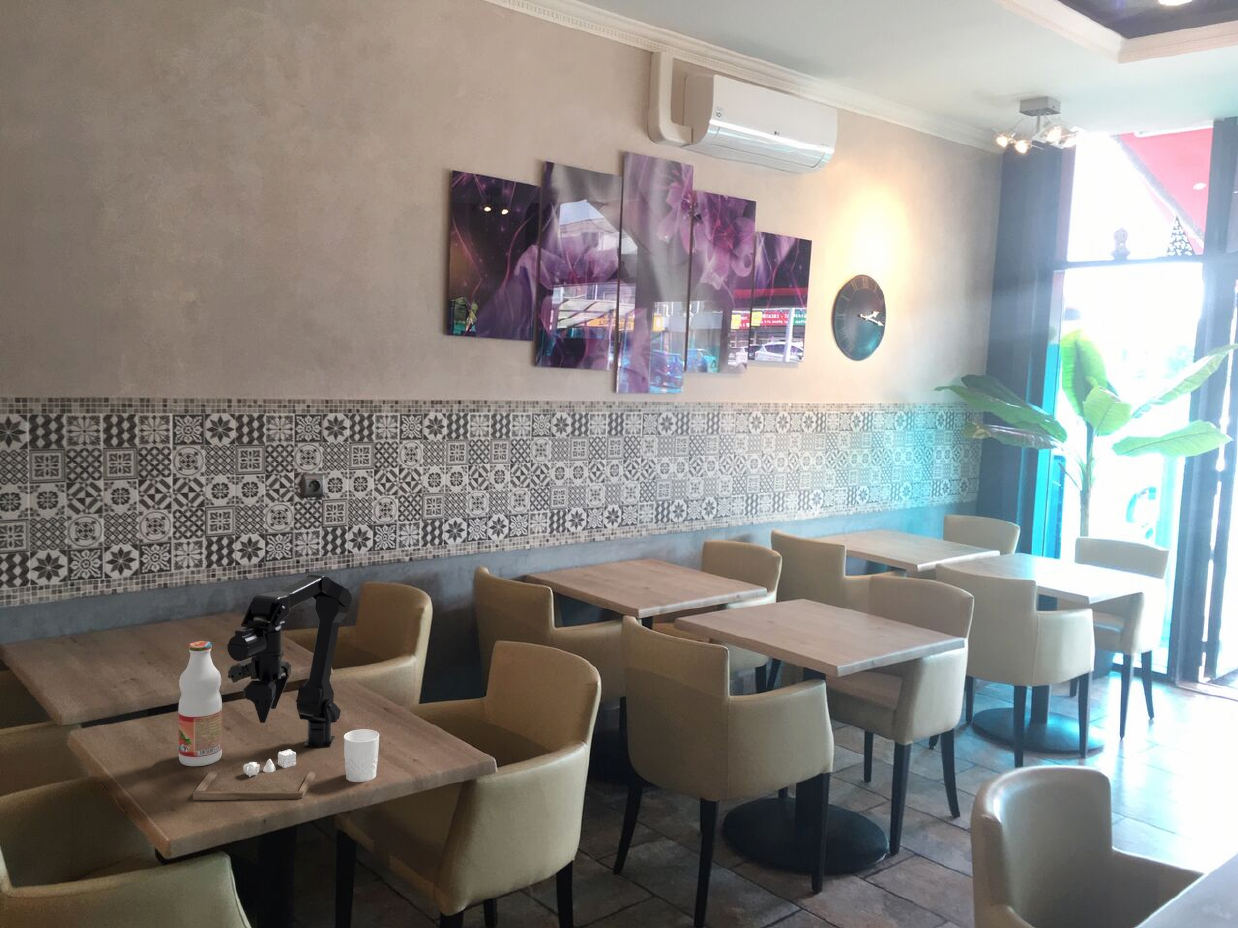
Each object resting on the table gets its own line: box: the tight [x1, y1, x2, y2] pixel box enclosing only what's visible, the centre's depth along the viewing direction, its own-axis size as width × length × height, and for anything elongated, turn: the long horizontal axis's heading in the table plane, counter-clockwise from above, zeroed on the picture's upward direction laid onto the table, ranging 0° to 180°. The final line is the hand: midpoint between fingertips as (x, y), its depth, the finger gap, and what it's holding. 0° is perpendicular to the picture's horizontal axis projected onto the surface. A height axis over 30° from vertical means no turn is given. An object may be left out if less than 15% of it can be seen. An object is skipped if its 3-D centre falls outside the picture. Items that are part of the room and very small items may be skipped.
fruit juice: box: [178, 640, 223, 767], centre depth 235 cm, size 9×9×28 cm
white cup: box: [343, 728, 380, 783], centre depth 230 cm, size 8×8×10 cm
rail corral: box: [192, 768, 316, 801], centre depth 223 cm, size 13×23×2 cm, turn 95°
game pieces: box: [242, 749, 297, 778], centre depth 232 cm, size 12×3×3 cm, turn 137°
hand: (268, 715), depth 231 cm, fingers open, 9 cm apart
